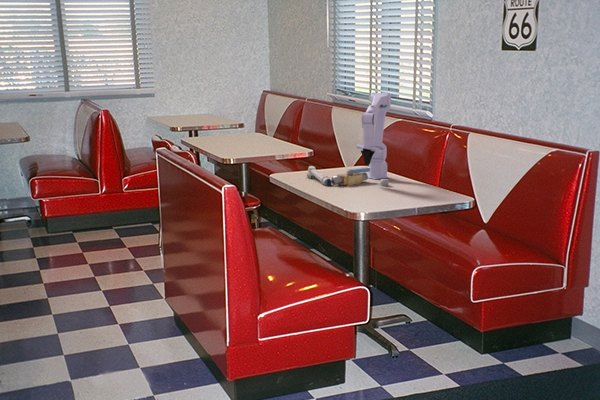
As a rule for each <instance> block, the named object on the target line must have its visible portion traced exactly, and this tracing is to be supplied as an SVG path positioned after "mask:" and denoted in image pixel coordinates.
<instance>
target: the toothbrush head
mask: <svg viewBox="0 0 600 400" xmlns="http://www.w3.org/2000/svg"><path fill="white" fill-rule="evenodd" d="M305 174H306V179H310V180H312V179H313V180H314V179H317V180H318V181H319V182H320V183H322V184H321V185H324V186H327V187H330V186H331V185H333V184H332V181H331V179H330V177H329V176H328V175H327V176H326V175H325V174H324V173H322V172H321V171H319V170H317V169H316V167H315V166H313V165H309V166H308V169H307V170H306V172H305Z"/></svg>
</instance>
